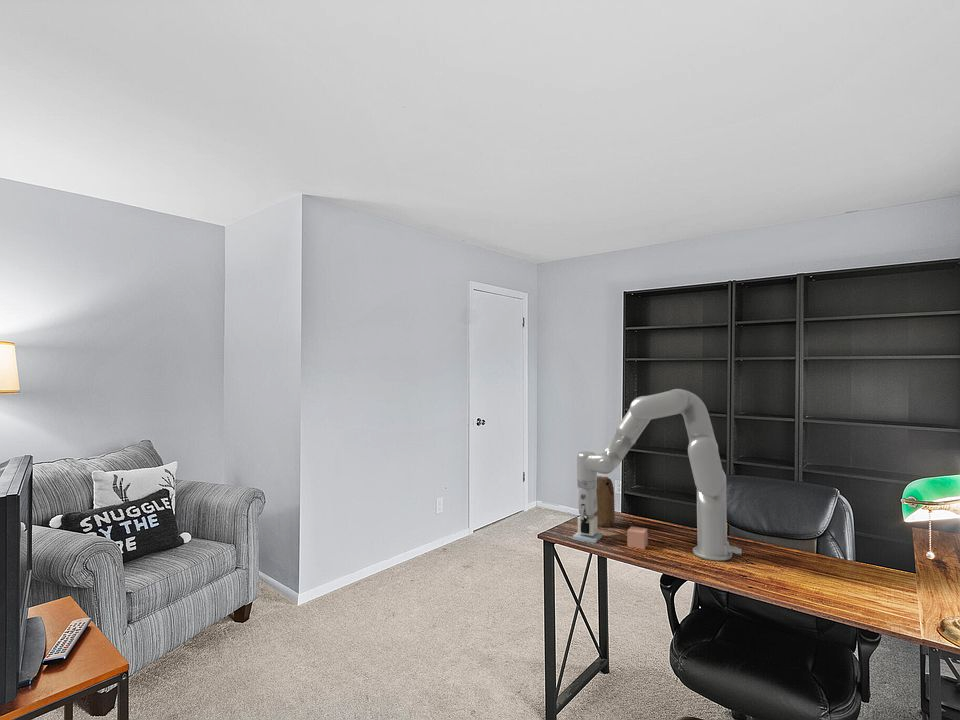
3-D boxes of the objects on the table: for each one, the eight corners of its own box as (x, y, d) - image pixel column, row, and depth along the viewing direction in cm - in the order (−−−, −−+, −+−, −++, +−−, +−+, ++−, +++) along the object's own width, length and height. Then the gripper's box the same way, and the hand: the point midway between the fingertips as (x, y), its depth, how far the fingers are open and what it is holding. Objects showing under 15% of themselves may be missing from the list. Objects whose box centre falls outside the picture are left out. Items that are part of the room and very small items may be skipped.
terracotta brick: (647, 544, 192) (647, 528, 192) (644, 549, 187) (644, 533, 187) (631, 542, 195) (631, 526, 195) (627, 547, 189) (627, 530, 190)
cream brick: (597, 531, 201) (597, 516, 201) (592, 535, 196) (592, 520, 196) (582, 529, 204) (582, 514, 204) (577, 533, 199) (577, 517, 199)
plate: (602, 536, 202) (602, 533, 202) (595, 543, 194) (595, 539, 194) (580, 532, 206) (580, 529, 206) (572, 539, 198) (572, 536, 198)
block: (586, 525, 216) (586, 477, 216) (591, 520, 222) (590, 474, 223) (612, 529, 211) (612, 479, 211) (616, 524, 217) (616, 476, 218)
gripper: (589, 489, 191) (590, 538, 191) (603, 480, 206) (603, 526, 206) (570, 487, 195) (570, 535, 194) (584, 478, 210) (585, 523, 209)
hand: (587, 530), depth 200 cm, fingers closed on cream brick, 5 cm apart
